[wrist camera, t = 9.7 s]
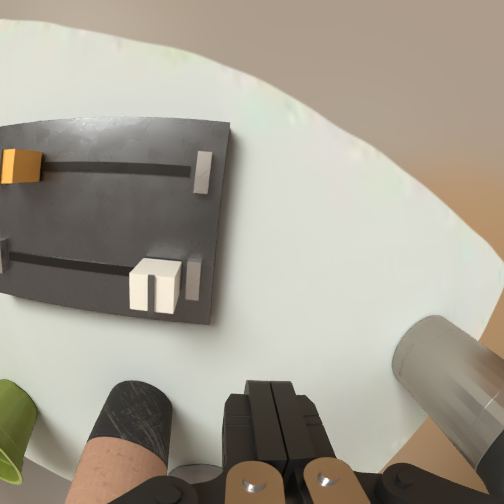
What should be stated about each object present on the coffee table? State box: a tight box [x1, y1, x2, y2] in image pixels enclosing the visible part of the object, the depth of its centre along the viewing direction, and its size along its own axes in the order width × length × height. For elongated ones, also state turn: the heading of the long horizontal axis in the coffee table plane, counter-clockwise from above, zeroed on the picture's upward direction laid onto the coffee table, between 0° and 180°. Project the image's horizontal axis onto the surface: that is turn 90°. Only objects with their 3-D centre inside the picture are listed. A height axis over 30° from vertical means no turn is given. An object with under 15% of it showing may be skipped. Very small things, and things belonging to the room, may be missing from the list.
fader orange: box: [0, 149, 42, 184], centre depth 17 cm, size 3×3×4 cm
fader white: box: [129, 258, 182, 314], centre depth 20 cm, size 3×3×4 cm
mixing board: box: [0, 117, 230, 325], centre depth 21 cm, size 22×16×3 cm
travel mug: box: [65, 381, 172, 504], centre depth 18 cm, size 8×8×20 cm
